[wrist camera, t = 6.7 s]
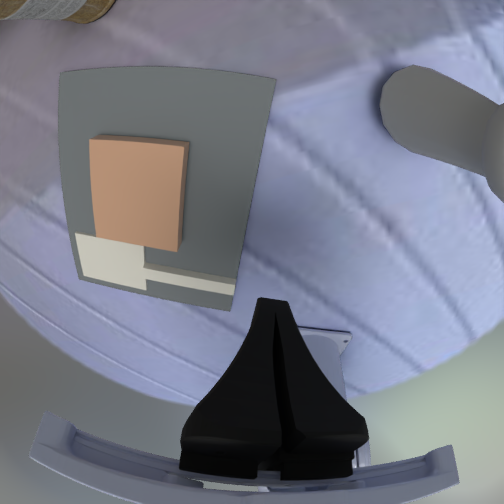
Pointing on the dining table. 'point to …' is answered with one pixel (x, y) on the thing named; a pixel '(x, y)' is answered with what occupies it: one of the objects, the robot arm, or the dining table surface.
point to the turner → (139, 267)
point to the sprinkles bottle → (54, 9)
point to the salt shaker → (445, 122)
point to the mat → (198, 165)
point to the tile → (138, 189)
